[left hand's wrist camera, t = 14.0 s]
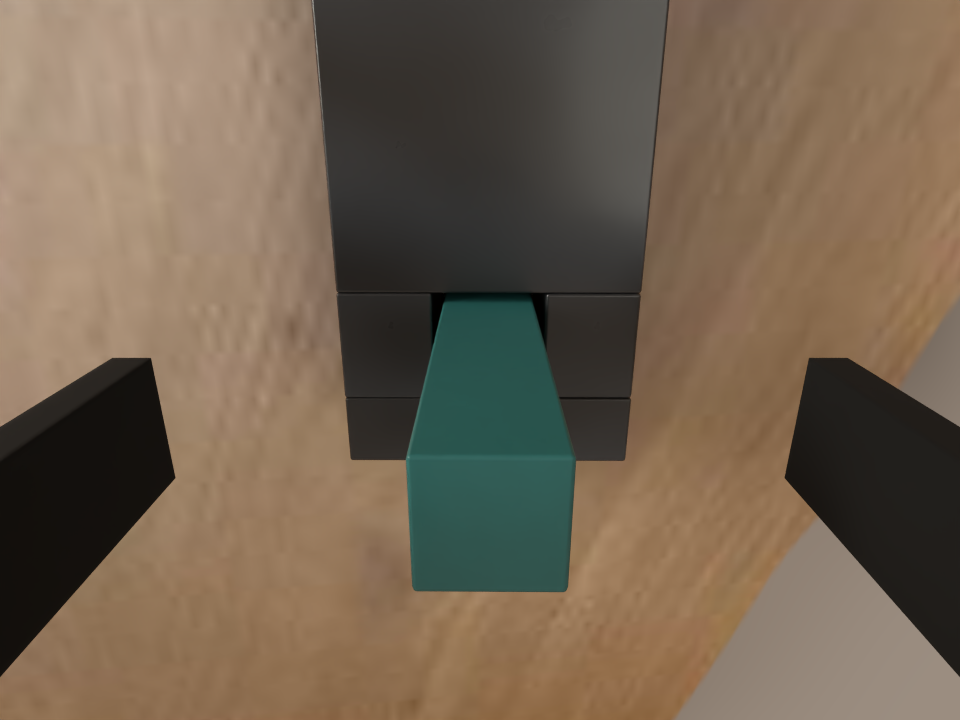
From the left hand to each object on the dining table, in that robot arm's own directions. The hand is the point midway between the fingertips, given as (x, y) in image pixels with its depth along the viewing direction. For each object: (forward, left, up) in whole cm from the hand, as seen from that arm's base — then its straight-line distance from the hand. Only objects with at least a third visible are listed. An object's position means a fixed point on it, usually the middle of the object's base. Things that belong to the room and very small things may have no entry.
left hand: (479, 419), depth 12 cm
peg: (0, 0, -8) cm, 8 cm away
